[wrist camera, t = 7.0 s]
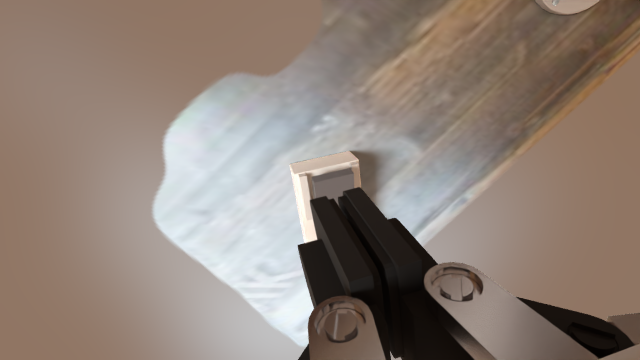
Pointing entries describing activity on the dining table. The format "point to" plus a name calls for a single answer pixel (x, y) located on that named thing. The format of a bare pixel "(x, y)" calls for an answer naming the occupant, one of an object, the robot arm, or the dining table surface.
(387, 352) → the robot arm
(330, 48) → the dining table surface
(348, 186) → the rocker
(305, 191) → the rocker switch panel
